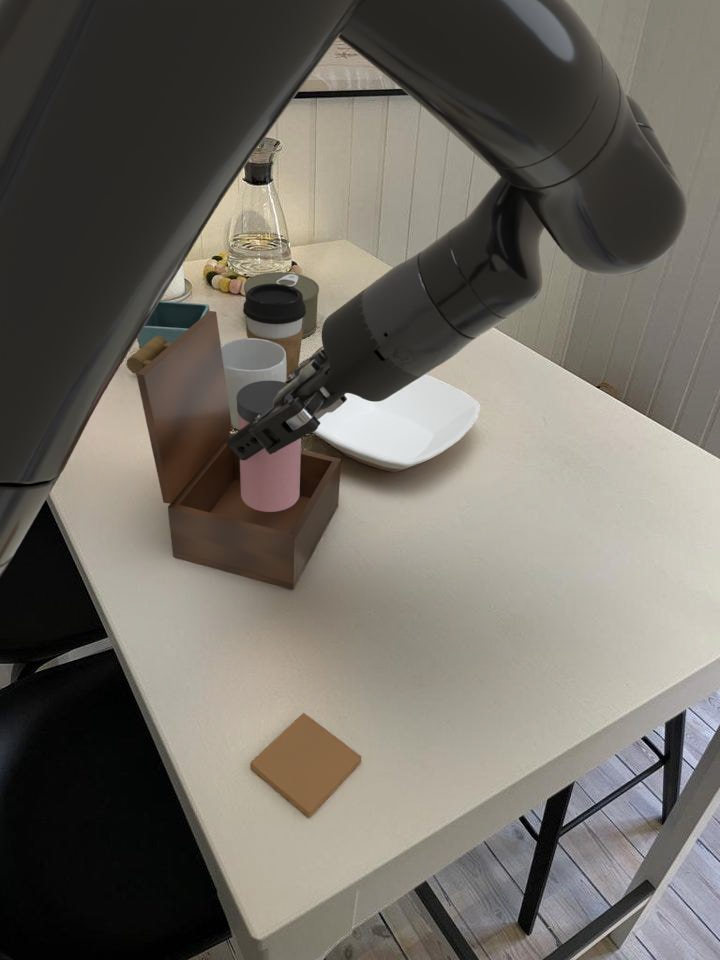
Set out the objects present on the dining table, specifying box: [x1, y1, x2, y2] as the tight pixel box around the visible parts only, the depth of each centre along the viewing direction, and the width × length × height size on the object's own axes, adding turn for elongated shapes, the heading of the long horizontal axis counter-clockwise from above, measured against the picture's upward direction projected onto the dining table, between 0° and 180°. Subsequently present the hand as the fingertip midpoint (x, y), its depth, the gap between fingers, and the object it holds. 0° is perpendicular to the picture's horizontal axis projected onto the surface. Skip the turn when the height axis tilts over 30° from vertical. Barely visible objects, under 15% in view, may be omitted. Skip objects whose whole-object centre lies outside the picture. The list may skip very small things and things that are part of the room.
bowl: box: [312, 374, 481, 473], centre depth 98 cm, size 22×22×5 cm
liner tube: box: [237, 381, 302, 512], centre depth 64 cm, size 5×5×10 cm
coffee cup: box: [242, 284, 306, 380], centre depth 104 cm, size 8×8×15 cm
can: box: [243, 271, 320, 340], centre depth 123 cm, size 12×12×7 cm
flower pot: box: [136, 300, 210, 349], centre depth 108 cm, size 9×9×9 cm
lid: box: [126, 310, 233, 505], centre depth 77 cm, size 14×15×5 cm
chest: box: [167, 432, 342, 590], centre depth 82 cm, size 14×15×7 cm
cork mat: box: [249, 712, 362, 819], centre depth 61 cm, size 6×6×1 cm
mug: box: [221, 337, 287, 431], centre depth 98 cm, size 13×9×10 cm
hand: (250, 431), depth 64 cm, fingers closed on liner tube, 5 cm apart
